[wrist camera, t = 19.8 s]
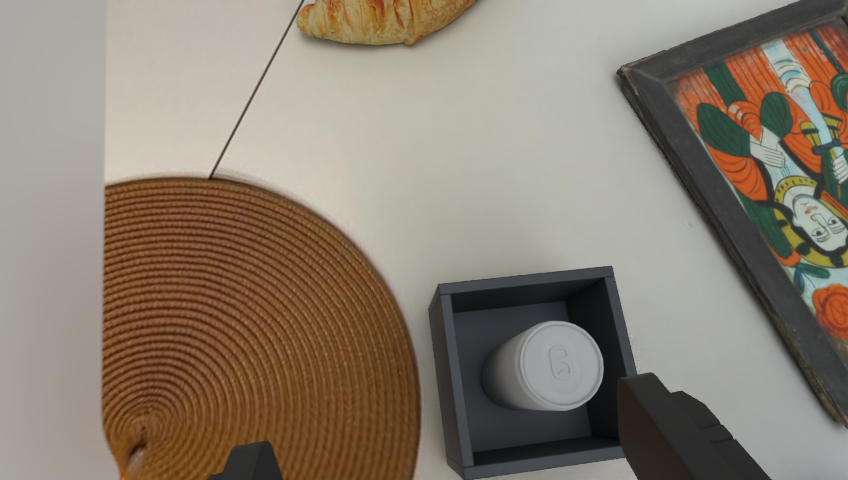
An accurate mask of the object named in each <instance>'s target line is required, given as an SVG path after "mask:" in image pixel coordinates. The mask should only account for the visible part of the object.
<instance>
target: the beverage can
mask: <svg viewBox="0 0 848 480" xmlns="http://www.w3.org/2000/svg"><path fill="white" fill-rule="evenodd" d="M603 371H604V368H603V358H602V355H601V352H600V349H599V347H598V345H597V344H596V342H595V341H594V339H593V338H592V337H591V336H590V335H589V334H588V333H587V332H586V331H585V330H583V329H582V328H580V327H578V326H577V325H575V324H572V323H568V322H565V321H547V322H543V323H539V324H537V325H535V326H533V327H531V328H530V329H528V330H526V331H524V332H522V333H521V334H519V335H517V336H515V337H513V338H512V339H510V340H508V341H506V342H504V343H503V344H501V345H499V346H498V347H496V348H494V349H493V350H492V351H491V352H490V354H489V355H488V356H487V358H486V360H485V362H484V365H483V368H482V378H481V380H482V384H483V388H484V390H485V392H486V393H487V395H488V397H489V398H490V399H491V400H492V401H493V402H494V403H496V404H497V405H499V406H500V407H502V408H506V409H509V410H547V411H567V410H571V409H574V408H577V407H579V406H581V405H582V404H584V403H585V402H587V401H588V400H590V399H591V398H592V397H593V395H594V394H595V393H596V392H597V390H598V388H599V386H600V384H601V382H602V377H603Z"/></svg>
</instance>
